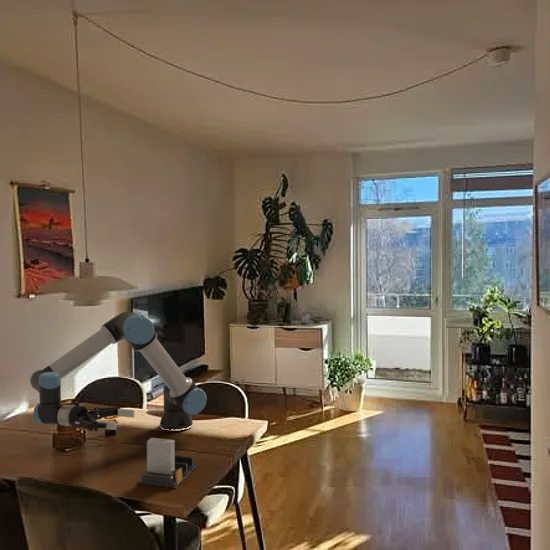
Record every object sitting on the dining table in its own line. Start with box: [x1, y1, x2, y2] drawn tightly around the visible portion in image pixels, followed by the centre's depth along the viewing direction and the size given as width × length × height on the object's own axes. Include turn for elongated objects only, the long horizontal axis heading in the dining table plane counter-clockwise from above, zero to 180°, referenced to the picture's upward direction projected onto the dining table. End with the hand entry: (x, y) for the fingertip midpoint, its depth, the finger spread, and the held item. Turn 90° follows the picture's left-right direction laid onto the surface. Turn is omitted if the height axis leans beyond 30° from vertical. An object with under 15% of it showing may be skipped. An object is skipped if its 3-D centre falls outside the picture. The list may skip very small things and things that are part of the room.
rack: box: [136, 454, 198, 488], centre depth 193 cm, size 19×15×5 cm
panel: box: [146, 437, 176, 479], centre depth 187 cm, size 4×9×14 cm, turn 77°
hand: (125, 419), depth 193 cm, fingers open, 13 cm apart
